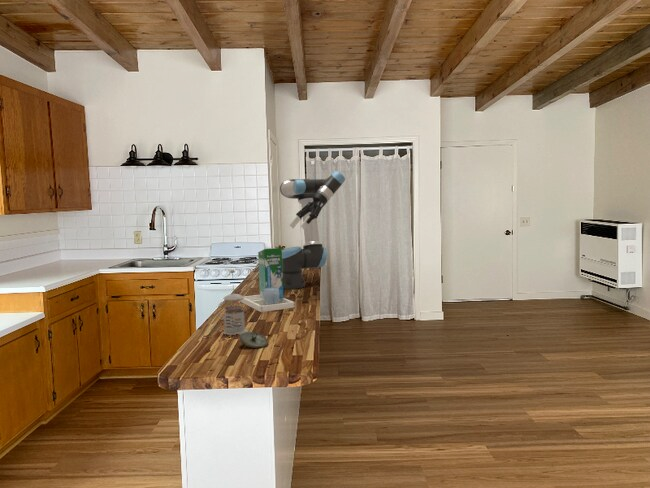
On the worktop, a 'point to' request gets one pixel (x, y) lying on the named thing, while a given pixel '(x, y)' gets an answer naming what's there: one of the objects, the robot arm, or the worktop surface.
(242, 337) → the lid
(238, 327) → the french press
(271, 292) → the mug
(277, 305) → the tray
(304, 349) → the worktop surface
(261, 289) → the milk carton
